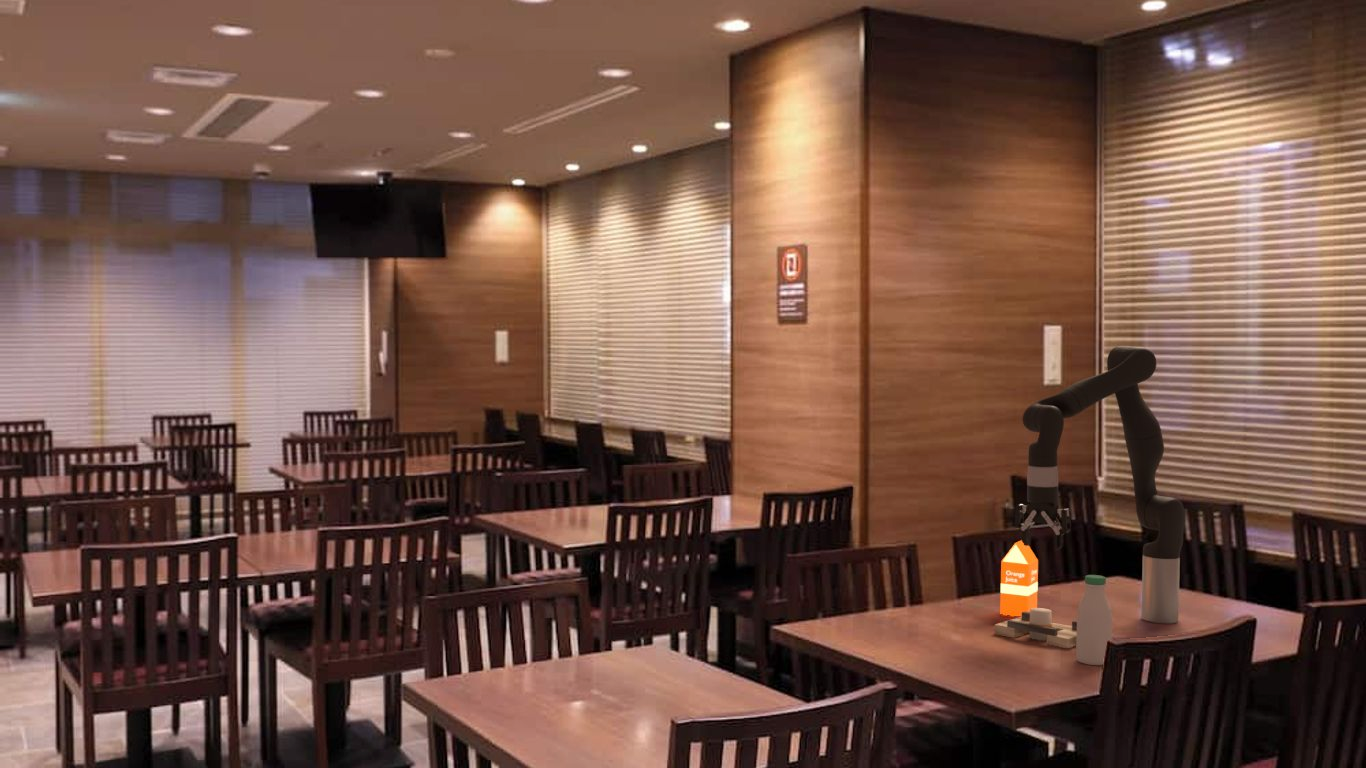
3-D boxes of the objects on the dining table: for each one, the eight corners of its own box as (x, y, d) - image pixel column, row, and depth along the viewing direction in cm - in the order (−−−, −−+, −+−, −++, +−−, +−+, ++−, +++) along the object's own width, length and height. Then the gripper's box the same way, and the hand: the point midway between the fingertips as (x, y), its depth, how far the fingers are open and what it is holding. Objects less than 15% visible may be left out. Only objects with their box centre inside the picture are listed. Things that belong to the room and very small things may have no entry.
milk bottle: (1113, 667, 277) (1115, 580, 276) (1078, 665, 278) (1079, 578, 277) (1108, 658, 284) (1110, 574, 283) (1074, 656, 286) (1076, 572, 285)
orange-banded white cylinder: (1035, 634, 308) (1036, 606, 307) (1055, 638, 304) (1056, 610, 303) (1024, 637, 304) (1025, 610, 303) (1044, 641, 300) (1045, 613, 300)
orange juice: (1037, 612, 333) (1039, 539, 332) (1028, 618, 325) (1029, 544, 325) (1009, 608, 337) (1010, 537, 336) (999, 614, 330) (1000, 541, 329)
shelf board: (1020, 625, 316) (1021, 609, 316) (1093, 639, 302) (1093, 622, 302) (994, 633, 307) (994, 616, 307) (1067, 648, 293) (1068, 630, 293)
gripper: (1076, 484, 304) (1075, 548, 305) (1024, 480, 314) (1023, 542, 315) (1062, 487, 299) (1061, 552, 300) (1009, 482, 309) (1009, 546, 310)
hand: (1042, 547), depth 307 cm, fingers open, 8 cm apart
